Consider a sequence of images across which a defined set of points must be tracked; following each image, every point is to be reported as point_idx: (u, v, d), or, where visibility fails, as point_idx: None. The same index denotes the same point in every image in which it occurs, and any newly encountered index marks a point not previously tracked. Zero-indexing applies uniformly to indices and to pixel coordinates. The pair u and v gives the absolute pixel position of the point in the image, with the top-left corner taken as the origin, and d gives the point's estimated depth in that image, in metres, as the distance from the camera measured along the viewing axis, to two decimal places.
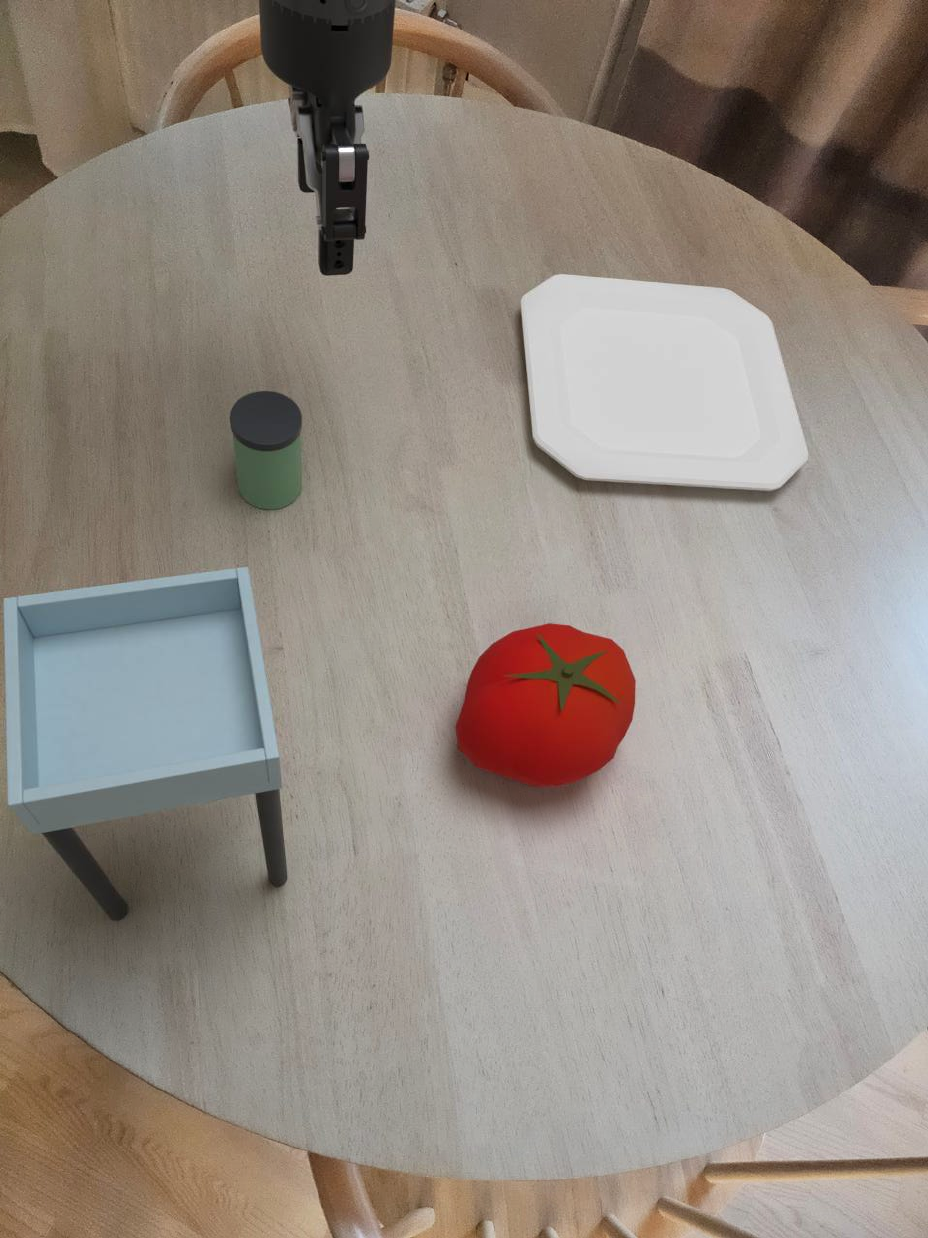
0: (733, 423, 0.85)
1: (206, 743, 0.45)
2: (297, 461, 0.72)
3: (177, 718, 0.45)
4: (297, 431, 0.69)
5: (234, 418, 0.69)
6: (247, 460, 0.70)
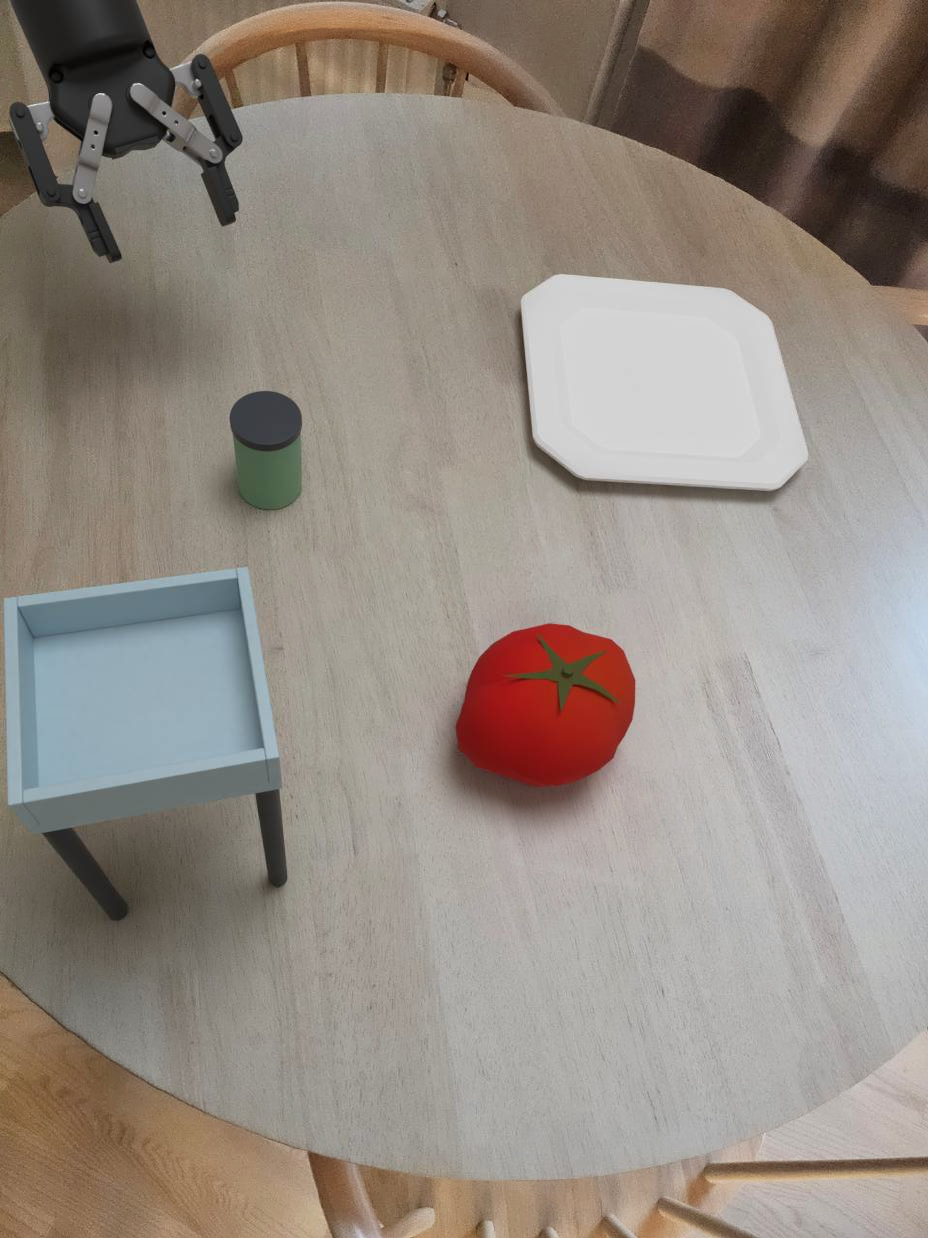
0: (733, 423, 0.85)
1: (206, 743, 0.45)
2: (297, 461, 0.72)
3: (177, 718, 0.45)
4: (297, 431, 0.69)
5: (234, 418, 0.69)
6: (247, 460, 0.70)
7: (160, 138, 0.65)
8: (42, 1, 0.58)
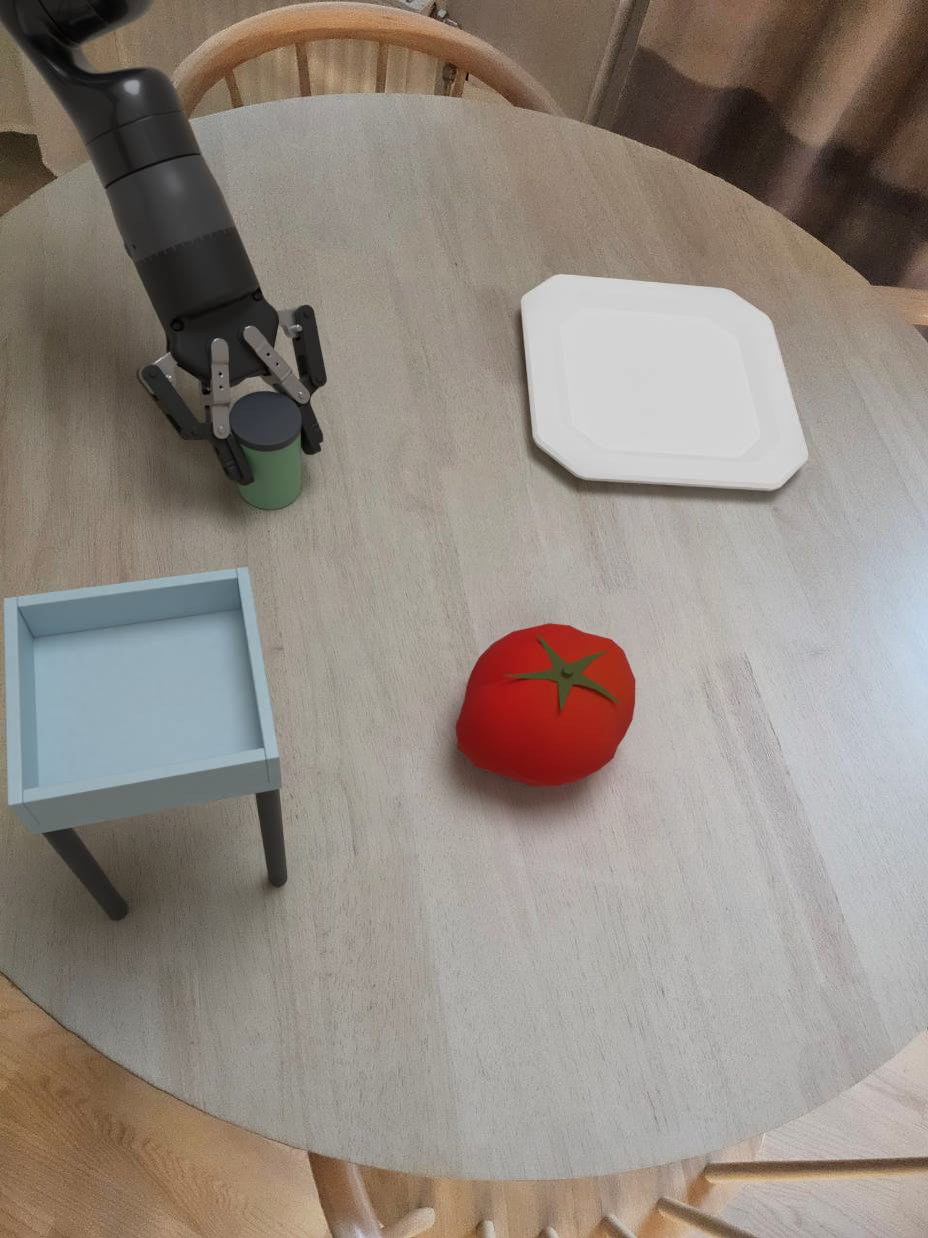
0: (733, 423, 0.85)
1: (206, 743, 0.45)
2: (297, 461, 0.72)
3: (177, 718, 0.45)
4: (297, 431, 0.69)
5: (234, 418, 0.69)
6: (247, 460, 0.70)
7: (266, 369, 0.69)
8: (170, 266, 0.63)
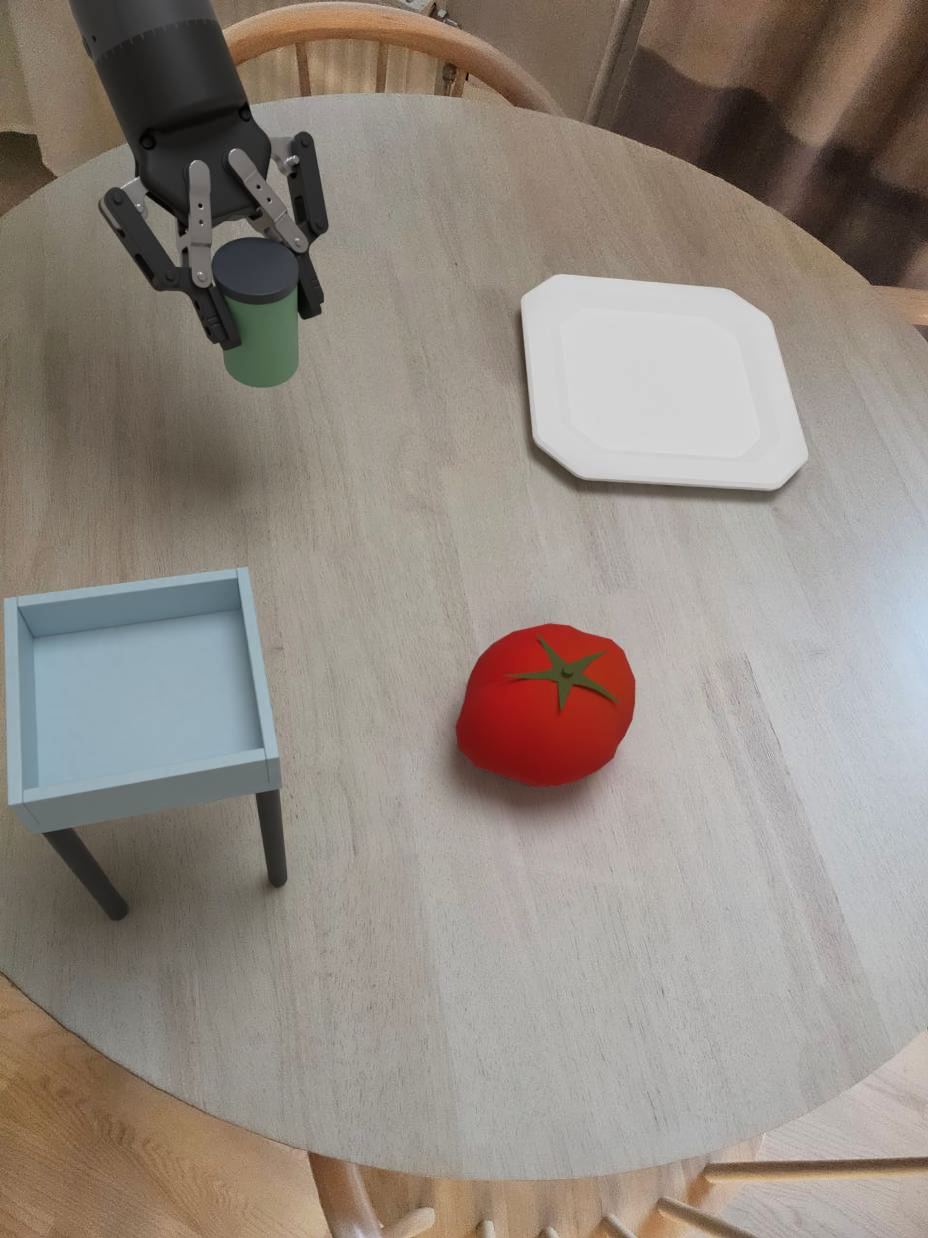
0: (733, 423, 0.85)
1: (206, 743, 0.45)
2: (293, 325, 0.61)
3: (177, 718, 0.45)
4: (293, 282, 0.58)
5: (217, 265, 0.57)
6: (233, 319, 0.59)
7: (256, 208, 0.58)
8: (138, 60, 0.51)
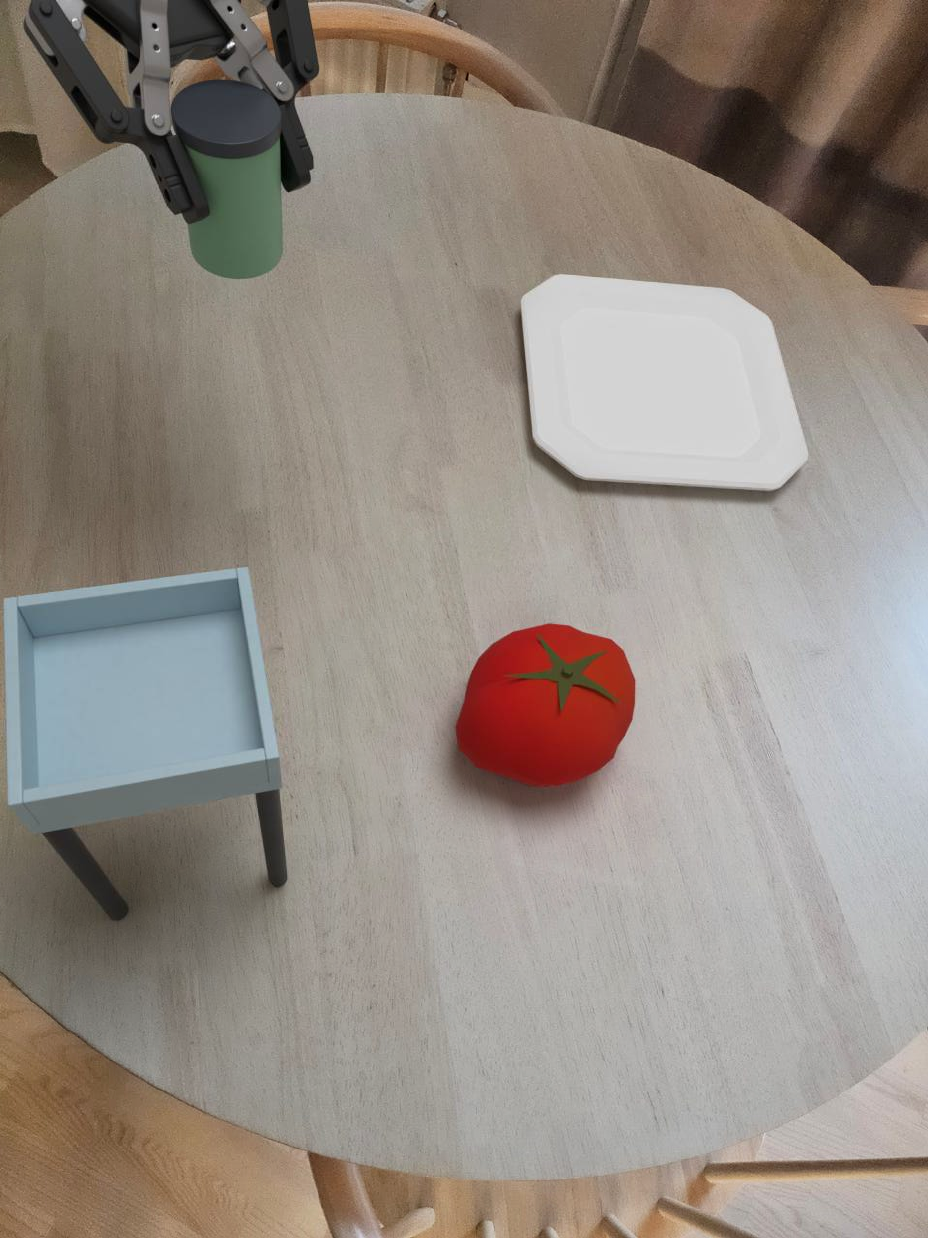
0: (733, 423, 0.85)
1: (206, 743, 0.45)
2: (275, 194, 0.49)
3: (177, 718, 0.45)
4: (274, 131, 0.46)
5: (178, 109, 0.45)
6: (199, 181, 0.47)
7: (228, 39, 0.46)
8: None
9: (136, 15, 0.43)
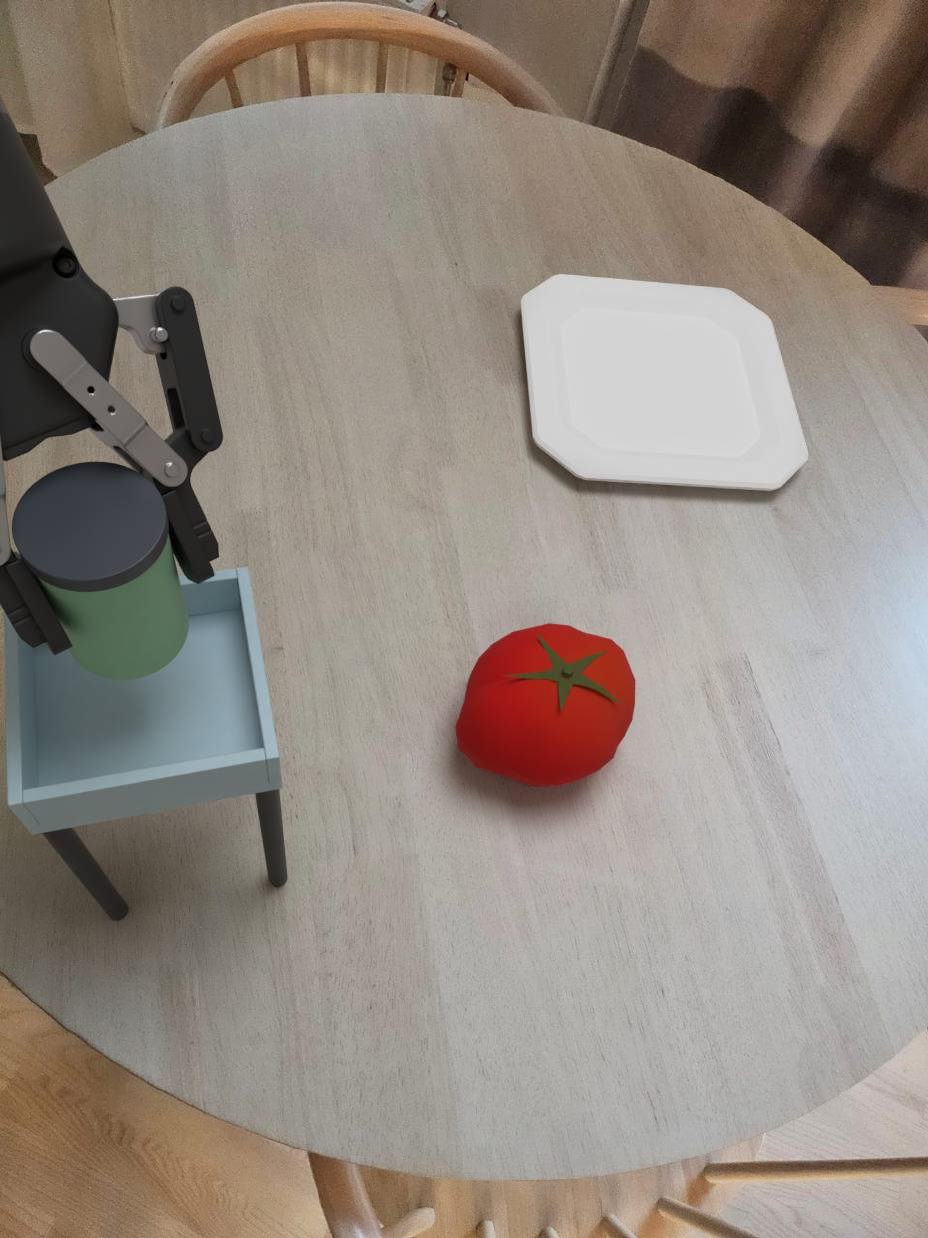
0: (733, 423, 0.85)
1: (206, 743, 0.45)
2: (166, 598, 0.36)
3: (177, 718, 0.45)
4: (154, 548, 0.33)
5: (22, 523, 0.33)
6: (57, 604, 0.34)
7: (93, 420, 0.34)
8: None
9: None
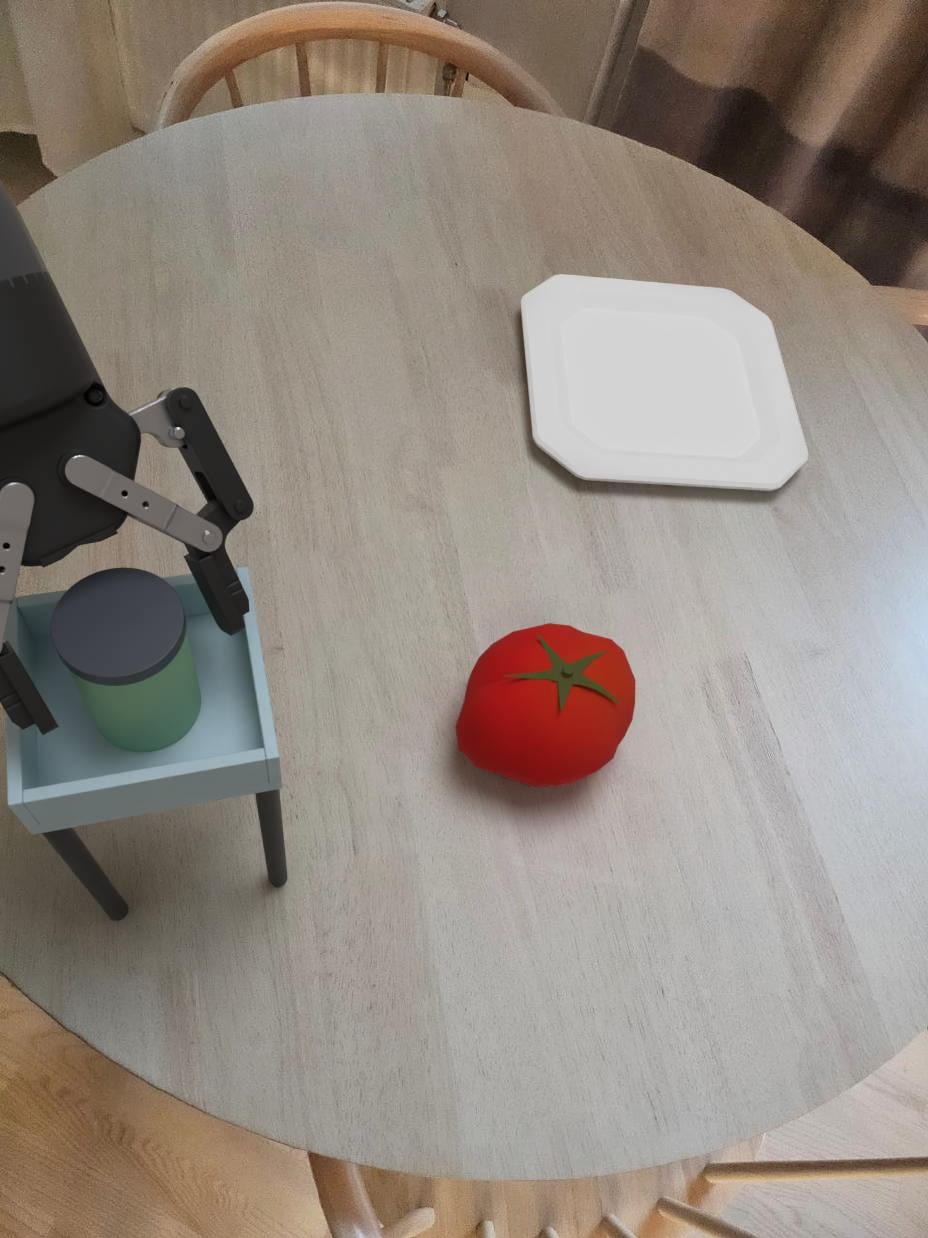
0: (733, 423, 0.85)
1: (206, 743, 0.45)
2: (183, 683, 0.41)
3: None
4: (174, 647, 0.38)
5: (59, 625, 0.38)
6: (88, 693, 0.39)
7: (118, 527, 0.38)
8: None
9: None
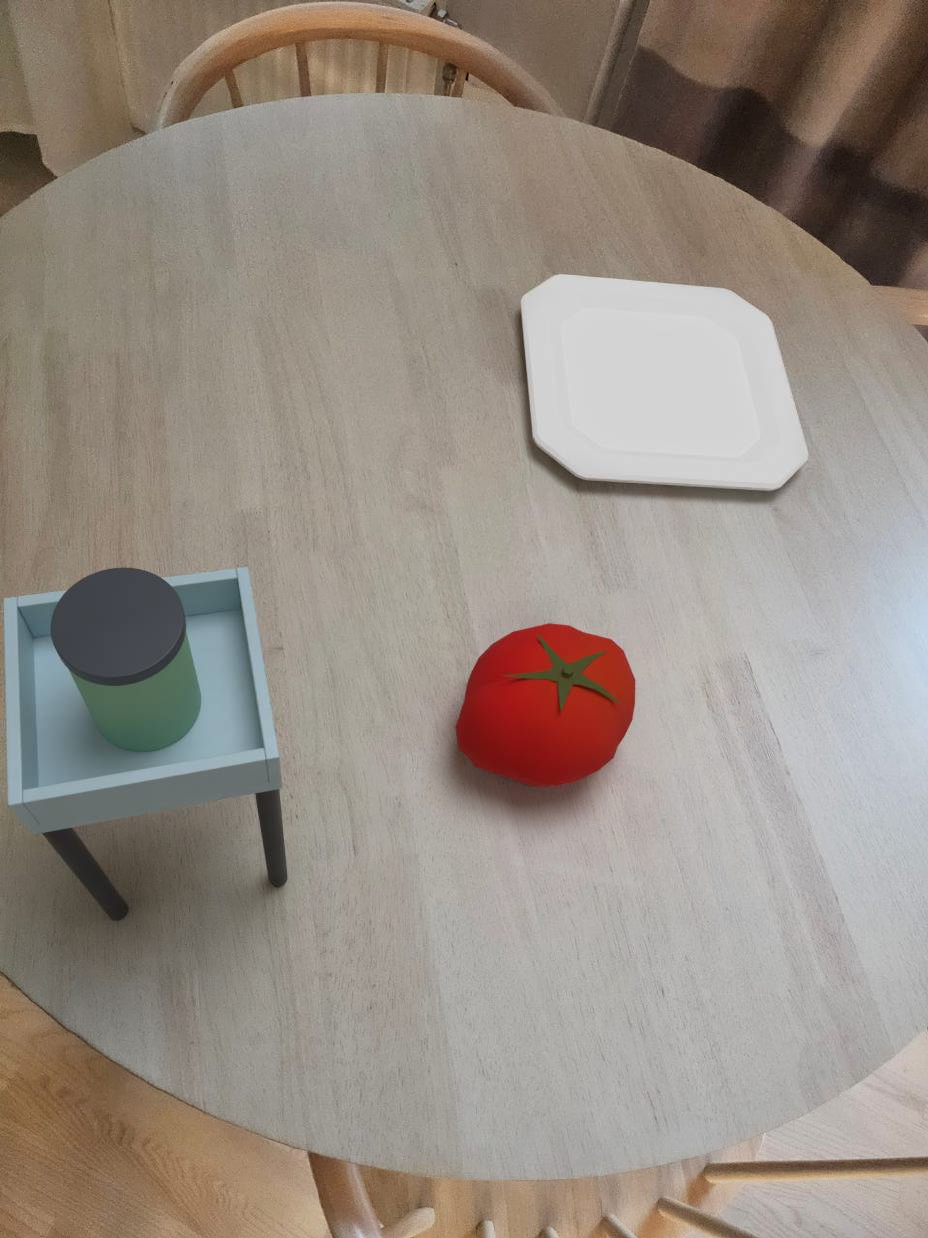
0: (733, 423, 0.85)
1: (206, 743, 0.45)
2: (183, 683, 0.41)
3: None
4: (174, 647, 0.38)
5: (59, 625, 0.38)
6: (88, 693, 0.39)
7: None
8: None
9: None
